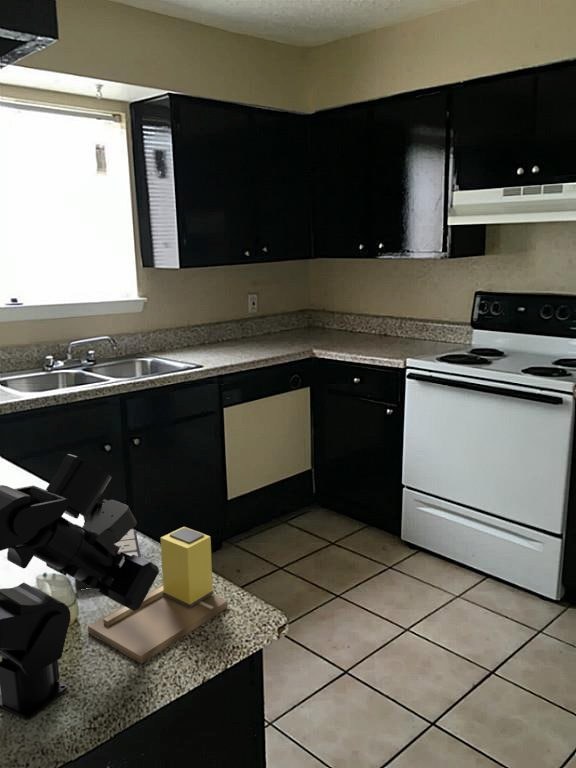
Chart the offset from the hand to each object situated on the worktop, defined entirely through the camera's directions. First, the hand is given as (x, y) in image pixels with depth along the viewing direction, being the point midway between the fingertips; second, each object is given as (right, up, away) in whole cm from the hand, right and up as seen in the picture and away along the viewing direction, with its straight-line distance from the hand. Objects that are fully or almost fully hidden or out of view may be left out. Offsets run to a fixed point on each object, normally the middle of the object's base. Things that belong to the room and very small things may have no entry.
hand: (136, 587), depth 97 cm
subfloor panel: (+3, -6, +5) cm, 8 cm away
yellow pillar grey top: (+6, -4, +9) cm, 12 cm away
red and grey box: (-10, -3, +22) cm, 24 cm away
